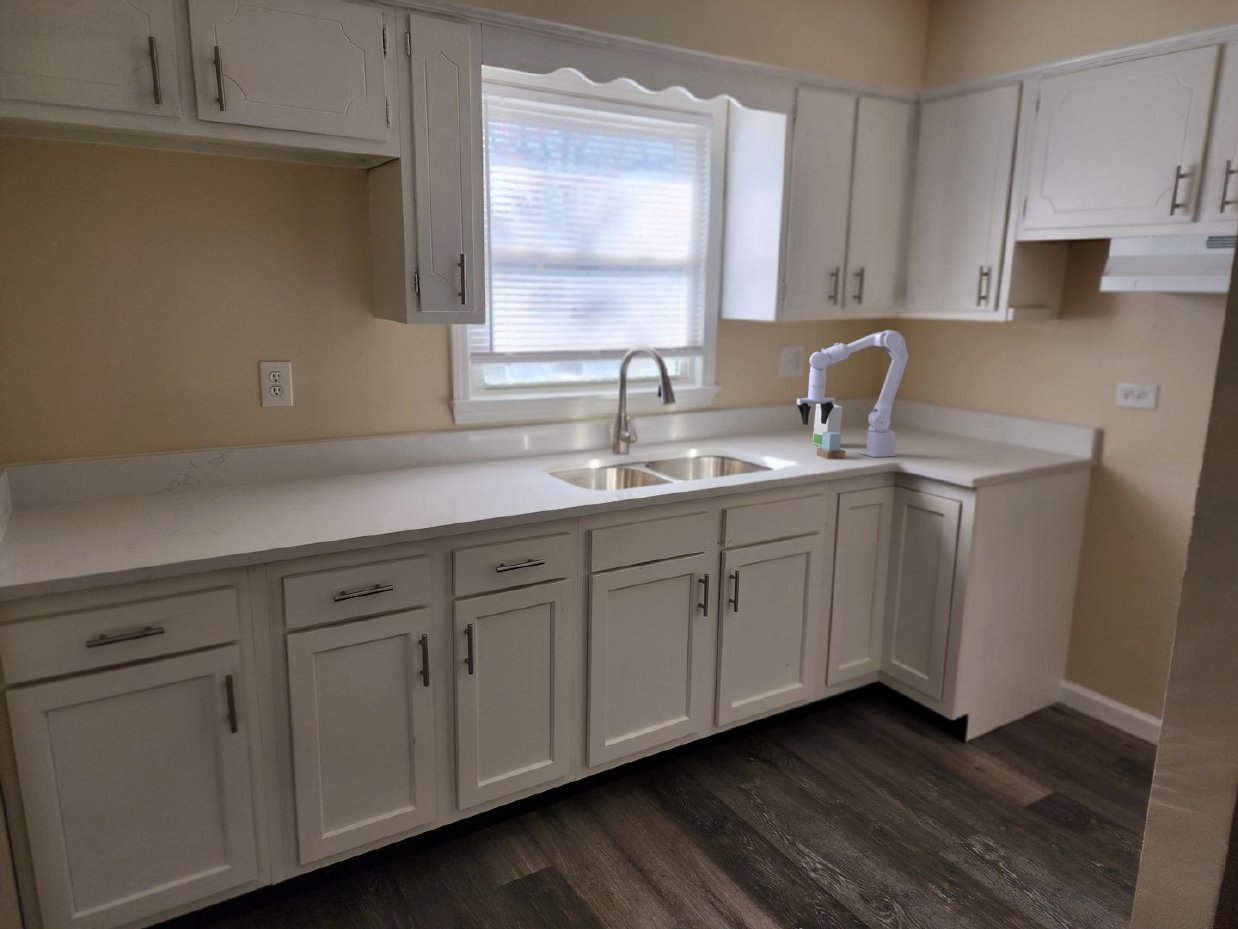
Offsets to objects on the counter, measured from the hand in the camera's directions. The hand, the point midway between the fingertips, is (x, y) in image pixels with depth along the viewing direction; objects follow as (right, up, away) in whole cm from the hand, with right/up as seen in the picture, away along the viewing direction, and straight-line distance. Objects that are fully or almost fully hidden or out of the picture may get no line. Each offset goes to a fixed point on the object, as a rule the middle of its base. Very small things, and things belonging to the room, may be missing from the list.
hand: (814, 424), depth 291 cm
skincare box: (+8, -8, +17) cm, 20 cm away
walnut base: (+5, -12, -4) cm, 14 cm away
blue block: (+4, -9, -5) cm, 12 cm away
